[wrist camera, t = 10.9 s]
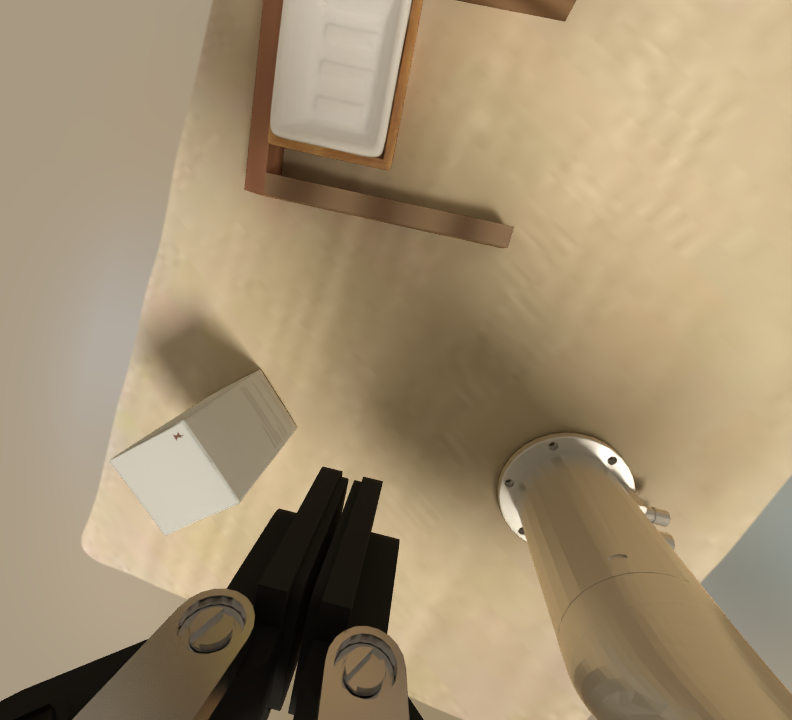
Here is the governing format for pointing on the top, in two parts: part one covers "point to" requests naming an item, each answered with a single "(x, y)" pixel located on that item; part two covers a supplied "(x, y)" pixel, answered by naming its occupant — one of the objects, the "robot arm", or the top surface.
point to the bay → (269, 182)
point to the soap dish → (343, 77)
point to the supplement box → (207, 454)
